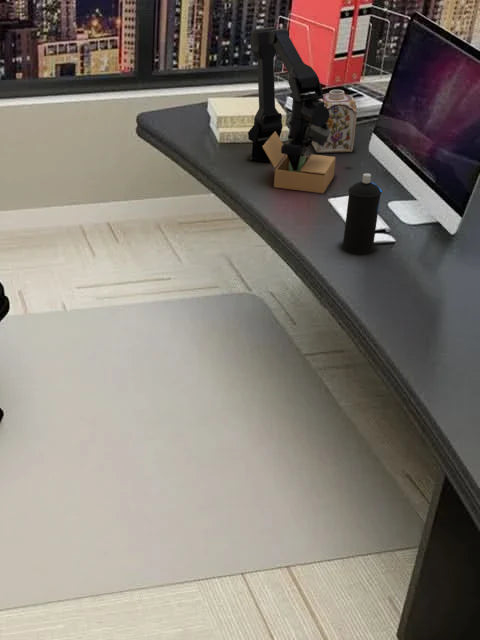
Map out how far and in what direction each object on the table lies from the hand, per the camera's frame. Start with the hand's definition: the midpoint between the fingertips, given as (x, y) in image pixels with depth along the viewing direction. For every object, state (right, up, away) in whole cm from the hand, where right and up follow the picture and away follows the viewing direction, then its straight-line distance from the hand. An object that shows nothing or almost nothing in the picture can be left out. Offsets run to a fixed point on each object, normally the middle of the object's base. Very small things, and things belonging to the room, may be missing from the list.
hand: (296, 167), depth 298 cm
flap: (-6, +6, 0) cm, 8 cm away
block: (0, -1, +1) cm, 1 cm away
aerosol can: (+8, -30, -37) cm, 48 cm away
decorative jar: (+17, +12, +25) cm, 32 cm away
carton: (+2, -4, +1) cm, 5 cm away
